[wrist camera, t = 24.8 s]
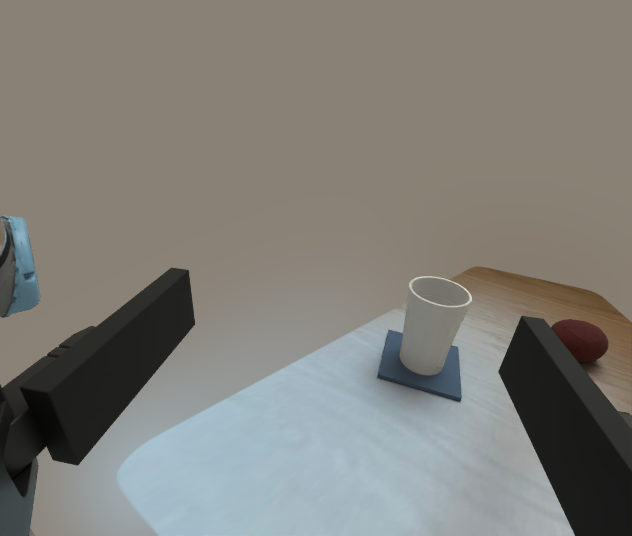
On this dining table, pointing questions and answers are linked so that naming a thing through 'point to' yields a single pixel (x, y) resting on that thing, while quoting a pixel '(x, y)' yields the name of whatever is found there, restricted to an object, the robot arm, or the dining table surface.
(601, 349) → the potato
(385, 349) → the mat
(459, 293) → the cup
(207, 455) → the dining table surface
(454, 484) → the dining table surface
